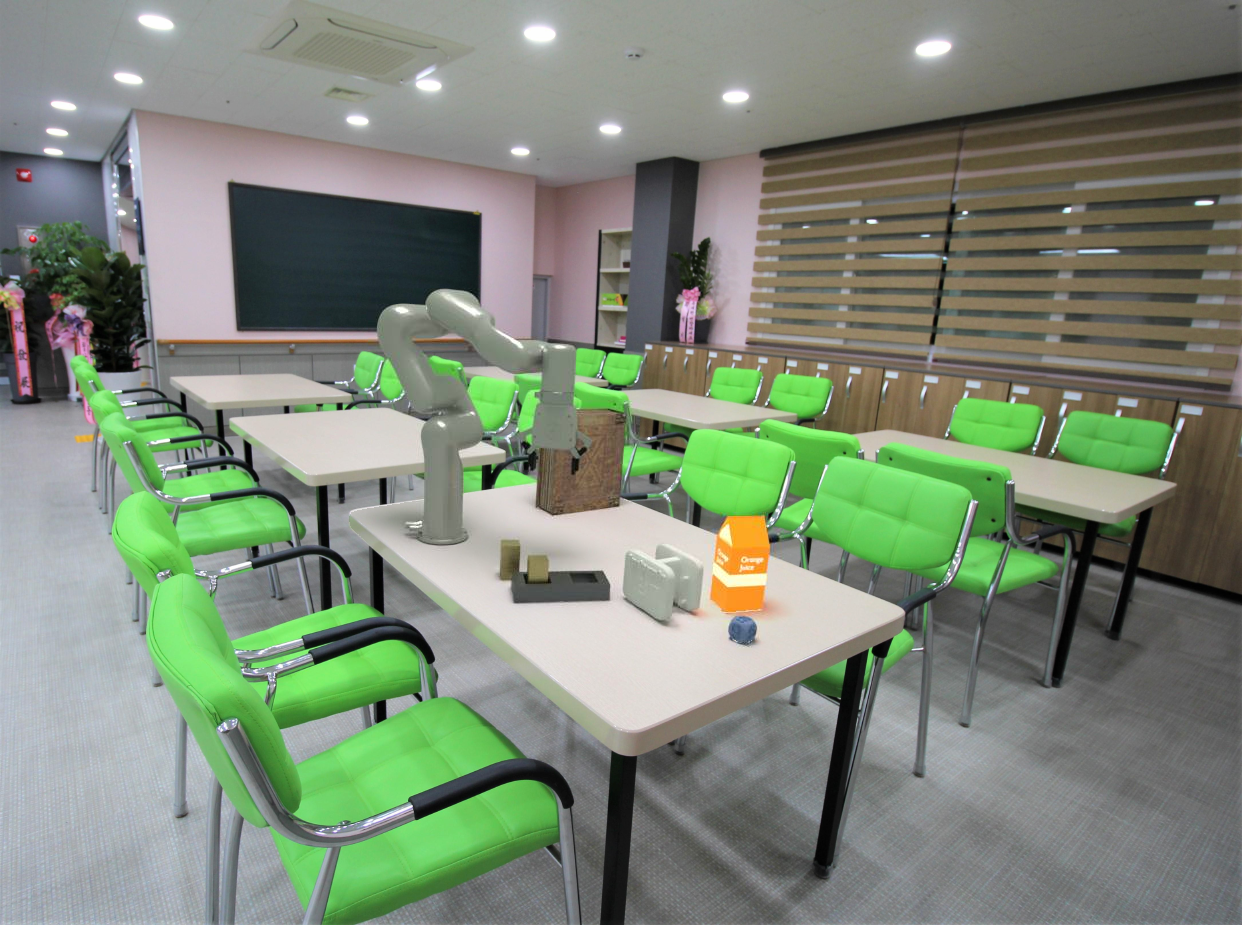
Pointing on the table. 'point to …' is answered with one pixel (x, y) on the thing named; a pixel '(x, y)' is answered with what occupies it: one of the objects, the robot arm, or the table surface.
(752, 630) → the decorative dice
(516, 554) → the brass square peg
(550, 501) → the book
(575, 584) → the peg holder block
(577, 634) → the table surface
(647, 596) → the cable organizer
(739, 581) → the orange juice
